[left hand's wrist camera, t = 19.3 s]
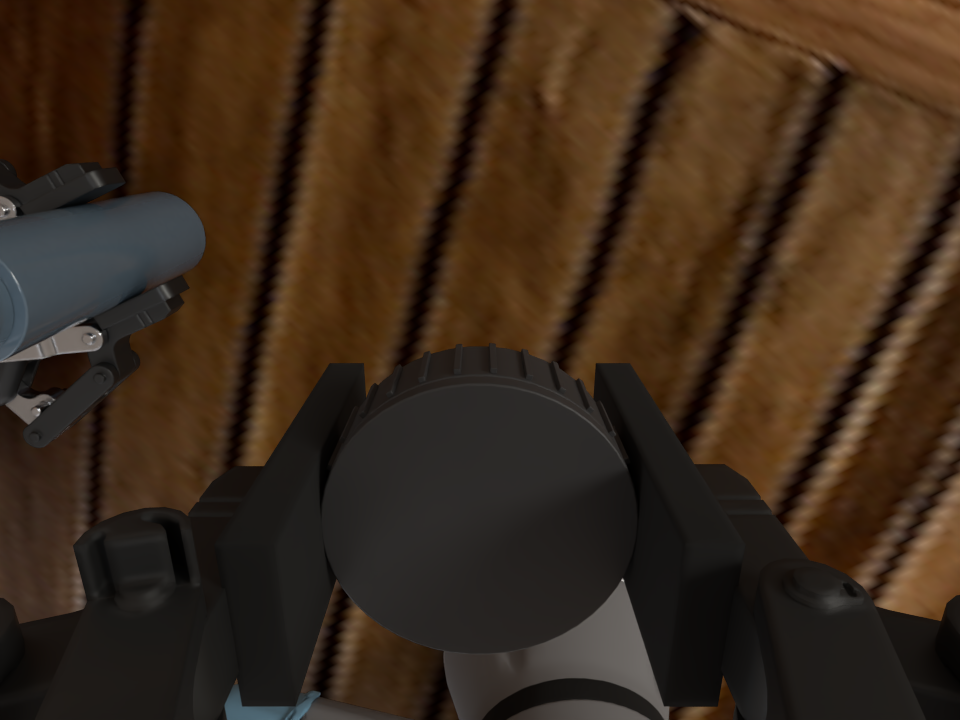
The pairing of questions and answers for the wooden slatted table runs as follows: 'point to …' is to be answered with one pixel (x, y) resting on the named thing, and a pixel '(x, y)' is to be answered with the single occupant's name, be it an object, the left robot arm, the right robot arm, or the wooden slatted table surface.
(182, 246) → the jar
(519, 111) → the wooden slatted table surface
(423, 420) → the lid
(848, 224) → the wooden slatted table surface
